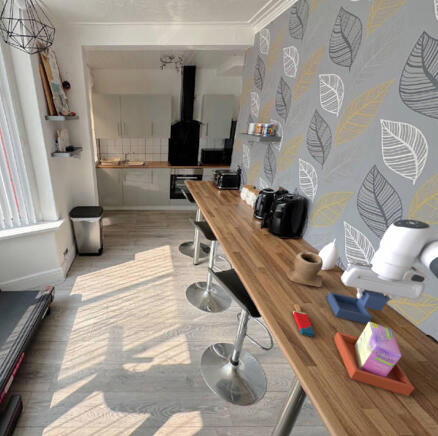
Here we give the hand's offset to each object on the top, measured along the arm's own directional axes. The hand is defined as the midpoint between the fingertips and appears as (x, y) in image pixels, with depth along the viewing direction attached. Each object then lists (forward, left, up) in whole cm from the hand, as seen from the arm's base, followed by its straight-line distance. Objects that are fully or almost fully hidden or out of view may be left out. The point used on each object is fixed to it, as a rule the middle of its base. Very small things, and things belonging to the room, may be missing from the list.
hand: (370, 300), depth 81 cm
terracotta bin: (+2, +15, -14) cm, 21 cm away
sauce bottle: (-1, -41, -14) cm, 43 cm away
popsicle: (+18, +2, -14) cm, 23 cm away
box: (+2, +15, -14) cm, 20 cm away
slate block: (0, 0, -2) cm, 2 cm away
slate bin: (-1, -10, -14) cm, 17 cm away
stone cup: (+11, -25, -14) cm, 31 cm away
